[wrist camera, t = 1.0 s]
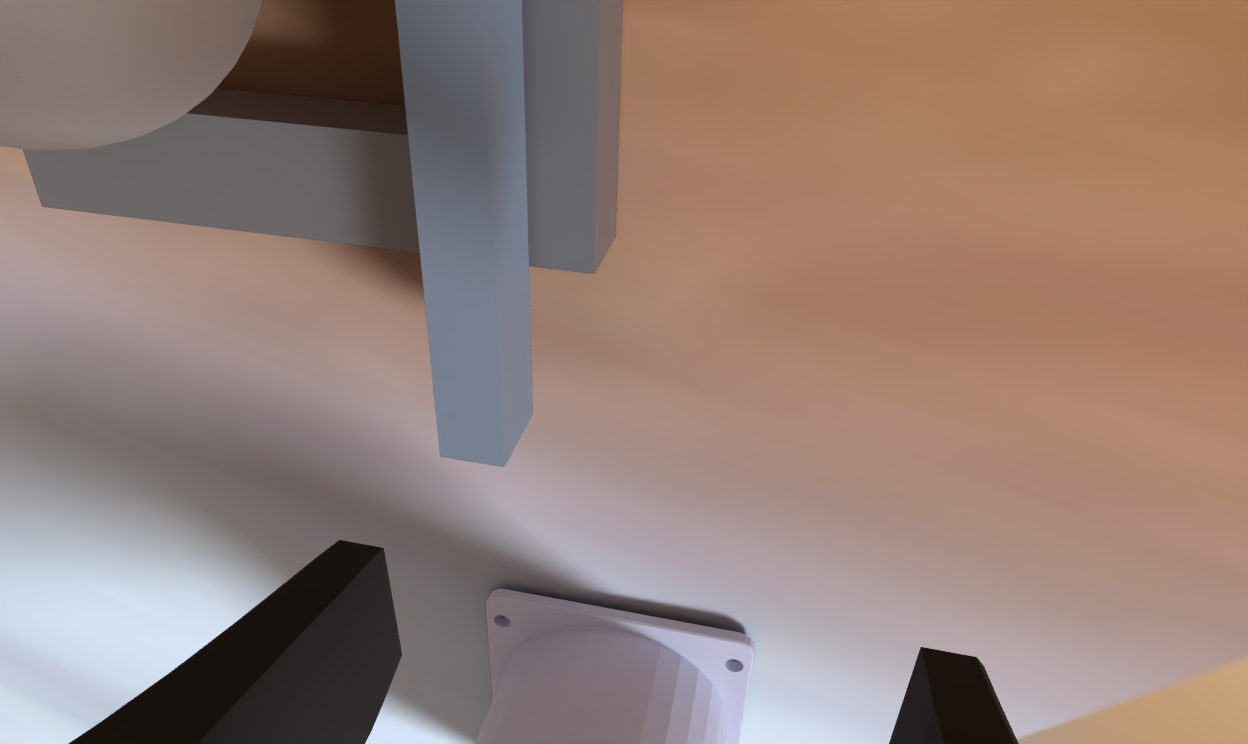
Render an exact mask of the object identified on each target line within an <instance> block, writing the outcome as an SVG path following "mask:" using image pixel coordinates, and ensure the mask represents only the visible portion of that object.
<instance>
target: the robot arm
mask: <svg viewBox="0 0 1248 744" xmlns="http://www.w3.org/2000/svg"><path fill="white" fill-rule="evenodd" d="M486 613H487V627H488V640H489V654H490V668H491V682H492V696H493V700H492V703H491V705H490V708H489V710H488V713H487V715H486V717H485V720H484V722H483V725H482V727H481V730H480V732H479V735H478V737H477V740H476V742H475V744H739V741H740V735H741V729H742V723H743V717H744V711H745V705H746V699H747V693H748V687H749V681H750V676H751V670H752V664H753V658H754V649H755V647H754V642H753V641H752V639H751V638H750V637H748V636H747V635H745V634H743V633H740V632H735V631H729V630H724V629H718V628H713V627H708V626H702V625H697V624H691V623H686V622H681V621H675V620H670V619H664V618H659V617H653V616H648V615H643V614H637V613H632V612H626V611H621V610H616V609H610V608H605V607H599V606H594V605H589V604H583V603H578V602H572V601H567V600H562V599H556V598H551V597H545V596H540V595H535V594H529V593H524V592H518V591H513V590H508V589H496V590H493V591H492V592H491V593H490V595H489V597H488V600H487V603H486ZM502 615H503V616H502ZM504 616H506V617H504ZM401 656H402V652H401V646H400V641H399V635H398V629H397V623H396V617H395V611H394V606H393V600H392V594H391V588H390V582H389V576H388V571H387V565H386V559H385V553H384V548H380V547H375V546H369V545H364V544H358V543H353V542H348V541H342V540H339V541H338V542H336V543H335V544H334V545H332V546H331V547H330V548H328V549H327V550H326V551H324V552H323V553H322V554H321V555H319V556H318V557H317V558H316V559H314V560H313V561H312V562H310V563H309V564H308V565H307V566H305V567H304V568H303V569H302V570H300V571H299V572H298V573H297V574H296V575H294V576H293V577H292V578H291V579H289V580H288V581H287V582H286V583H284V584H283V585H282V586H281V587H279V588H278V589H277V590H276V591H274V592H273V593H272V594H271V595H269V596H268V597H267V598H266V599H264V600H263V601H262V602H261V603H259V604H258V605H257V606H256V607H254V608H253V609H252V610H251V611H249V612H248V613H247V614H246V615H244V616H243V617H242V618H241V619H239V620H238V621H237V622H235V623H234V624H233V625H232V626H230V627H229V628H228V629H226V630H225V631H224V632H222V633H221V634H220V635H219V636H217V637H216V638H215V639H213V640H212V641H211V642H209V643H208V644H207V645H206V646H204V647H203V648H202V649H200V650H199V651H198V652H196V653H195V654H194V655H193V656H191V657H190V658H189V659H187V660H186V661H185V662H184V663H182V664H181V665H179V666H178V667H177V668H175V669H174V670H173V671H171V672H170V673H169V674H167V675H166V676H165V677H163V678H162V679H160V680H159V681H158V682H156V683H155V684H153V685H152V686H151V687H149V688H148V689H146V690H145V691H144V692H142V693H141V694H139V695H138V696H137V697H135V698H134V699H132V700H131V701H130V702H128V703H127V704H125V705H124V706H123V707H121V708H120V709H118V710H117V711H116V712H114V713H113V714H111V715H110V716H109V717H107V718H106V719H104V720H103V721H102V722H100V723H99V724H97V725H96V726H94V727H93V728H91V729H90V730H88V731H87V732H85V733H84V734H82V735H81V736H79V737H78V738H76V739H75V740H73V741H72V742H70V743H69V744H365V742H366V740H367V738H368V736H369V735H370V733H371V731H372V728H373V726H374V723H375V721H376V719H377V716H378V714H379V711H380V709H381V707H382V704H383V702H384V700H385V697H386V695H387V692H388V689H389V687H390V684H391V682H392V679H393V677H394V674H395V671H396V669H397V666H398V664H399V661H400V659H401ZM731 659H736V660H738V661H733V660H731ZM889 744H1019V743H1018V741H1017V739H1016V737H1015V735H1014V733H1013V731H1012V728H1011V726H1010V724H1009V722H1008V720H1007V718H1006V715H1005V713H1004V711H1003V709H1002V707H1001V704H1000V702H999V700H998V698H997V695H996V693H995V691H994V689H993V686H992V684H991V682H990V679H989V677H988V675H987V672H986V670H985V668H984V666H983V664H982V663H981V662H980V661H979V660H978V658H977V657H972V656H967V655H961V654H956V653H951V652H945V651H940V650H934V649H929V648H923V647H921V648H920V651H919V654H918V657H917V660H916V663H915V666H914V670H913V673H912V676H911V679H910V682H909V685H908V688H907V691H906V694H905V697H904V700H903V703H902V706H901V709H900V712H899V715H898V718H897V721H896V724H895V727H894V730H893V733H892V736H891V740H890V743H889Z"/></svg>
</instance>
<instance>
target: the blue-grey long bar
mask: <svg viewBox="0 0 1248 744" xmlns="http://www.w3.org/2000/svg"><path fill="white" fill-rule="evenodd" d="M395 7H396V17H397V27H398V37H399V47H400V57H401V67H402V78H403V88H404V98H405V108H406V118H407V128H408V138H409V148H410V158H411V168H412V178H413V188H414V198H415V208H416V218H417V228H418V238H419V248H420V259H421V269H422V279H423V289H424V299H425V309H426V319H427V329H428V339H429V349H430V359H431V369H432V379H433V389H434V399H435V409H436V419H437V429H438V440H439V450H440V457H445V458H451V459H457V460H463V461H469V462H476V463H482V464H488V465H494V466H500V467H505V465H506V463H507V461H508V459H509V457H510V456H511V454H512V452H513V450H514V448H515V446H516V444H517V443H518V441H519V439H520V437H521V435H522V433H523V431H524V430H525V428H526V426H527V424H528V422H529V420H530V418H531V417H532V415H533V397H532V360H531V323H530V286H529V249H528V212H527V176H526V139H525V102H524V65H523V28H522V0H395Z"/></svg>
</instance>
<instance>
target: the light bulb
mask: <svg viewBox="0 0 1248 744" xmlns="http://www.w3.org/2000/svg"><path fill="white" fill-rule="evenodd" d="M261 5H262V0H0V145H1V146H7V147H13V148H19V149H29V150H80V149H88V148H95V147H99V146H104V145H109V144H114V143H119V142H123V141H128V140H131V139H134V138H137V137H140V136H143V135H145V134H147V133H149V132H152V131H154V130H156V129H158V128H161V127H163V126H165V125H167V124H169V123H171V122H173V121H175V120H177V119H178V118H180V117H181V116H183V115H184V114H186V113H187V112H188V111H190V110H191V109H192V108H194V107H195V106H196V105H198V104H199V103H200V102H202V101H203V100H204V99H205V98H207V97H208V96H209V95H210V94H211V93H212V92H213V91H214V90H215V89H216V87H217V86H218V85H219V84H220V83H221V82H222V80H223V79H224V78H225V77H226V76H227V75H228V73H229V72H230V71H231V70H232V69H233V68H234V66H235V64H236V63H237V61H238V59H239V57H240V56H241V54H242V52H243V50H244V48H245V46H246V45H247V43H248V41H249V39H250V37H251V34H252V32H253V29H254V26H255V23H256V20H257V17H258V14H259V11H260V8H261Z"/></svg>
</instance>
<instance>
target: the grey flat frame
mask: <svg viewBox="0 0 1248 744" xmlns="http://www.w3.org/2000/svg"><path fill="white" fill-rule="evenodd" d="M622 6H623V0H522V28H523V65H524V102H525V139H526V176H527V212H528V249H529V266H532V267H541V268H549V269H557V270H565V271H573V272H582V273H590V274H595V272H596V271H597V269H598V267H599V265H600V263H601V262H602V260H603V258H604V256H605V255H606V253H607V251H608V249H609V248H610V246H611V244H612V242H613V241H614V239H615V236H616V203H617V170H618V137H619V104H620V72H621V39H622ZM23 152H24V155H25V158H26V160H27V163H28V166H29V169H30V172H31V175H32V178H33V181H34V184H35V187H36V190H37V193H38V196H39V199H40V202H41V205H42V207H48V208H56V209H65V210H73V211H81V212H89V213H97V214H106V215H114V216H122V217H130V218H138V219H147V220H155V221H163V222H171V223H179V224H188V225H196V226H204V227H212V228H221V229H229V230H237V231H245V232H253V233H262V234H270V235H278V236H286V237H294V238H303V239H311V240H319V241H327V242H335V243H344V244H352V245H360V246H368V247H376V248H385V249H393V250H401V251H409V252H417V253H420V248H419V238H418V228H417V218H416V208H415V198H414V188H413V178H412V168H411V158H410V148H409V138H408V128H407V118H406V108H405V106H402V105H391V104H381V103H370V102H359V101H348V100H338V99H327V98H316V97H305V96H295V95H284V94H273V93H263V92H252V91H241V90H230V89H220V88H216V89H215V90H214V91H213V92H212V93H211V94H210V95H209V96H208V97H207V98H205V99H204V100H203V101H202V102H200V103H199V104H198V105H196V106H195V107H194V108H192V109H191V110H190V111H188V112H187V113H186V114H184V115H183V116H181V117H180V118H178V119H177V120H175V121H173V122H171V123H169V124H167V125H165V126H163V127H161V128H158V129H156V130H154V131H152V132H149V133H147V134H145V135H143V136H140V137H137V138H134V139H131V140H128V141H123V142H119V143H114V144H109V145H104V146H99V147H95V148H88V149H80V150H29V149H23Z"/></svg>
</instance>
